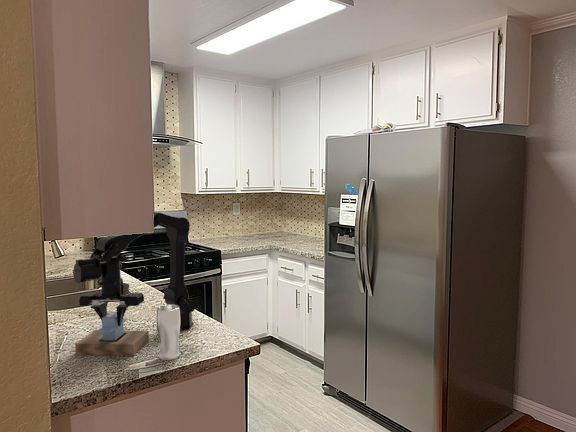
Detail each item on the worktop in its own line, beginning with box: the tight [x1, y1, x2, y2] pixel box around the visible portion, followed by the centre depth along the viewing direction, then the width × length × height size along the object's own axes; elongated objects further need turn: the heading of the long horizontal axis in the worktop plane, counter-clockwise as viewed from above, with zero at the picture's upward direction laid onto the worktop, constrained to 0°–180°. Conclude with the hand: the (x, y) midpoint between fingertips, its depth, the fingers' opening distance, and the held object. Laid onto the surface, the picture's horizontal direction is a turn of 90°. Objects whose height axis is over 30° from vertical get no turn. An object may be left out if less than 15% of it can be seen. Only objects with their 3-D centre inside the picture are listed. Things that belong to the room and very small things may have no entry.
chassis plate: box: [74, 329, 150, 357], centre depth 137 cm, size 18×12×4 cm, turn 87°
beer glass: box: [155, 304, 181, 361], centre depth 130 cm, size 7×7×15 cm
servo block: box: [96, 311, 128, 340], centre depth 137 cm, size 4×12×8 cm, turn 177°
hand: (112, 325), depth 137 cm, fingers closed on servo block, 4 cm apart
